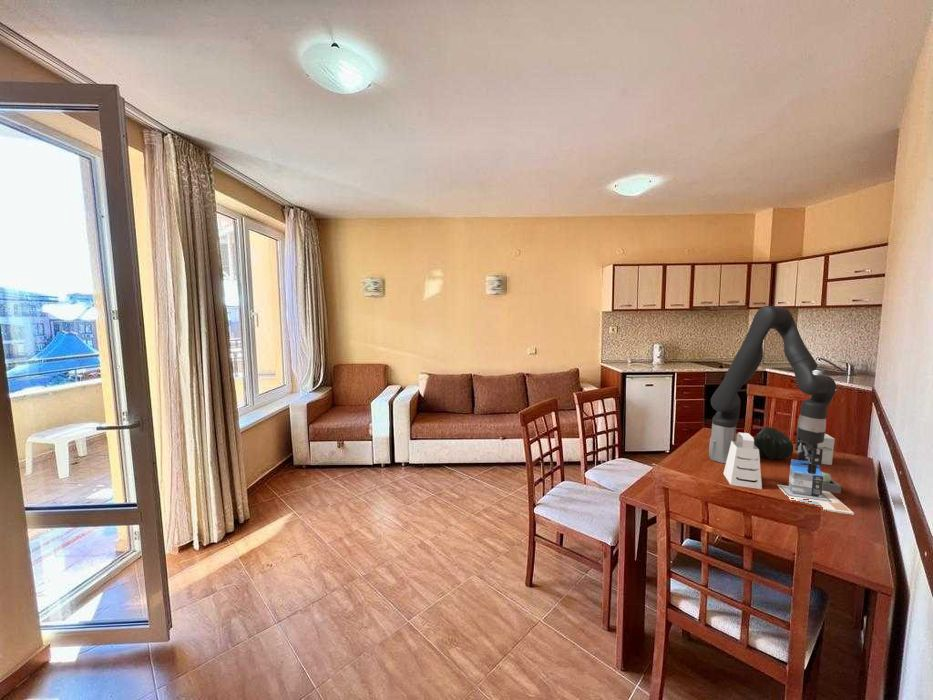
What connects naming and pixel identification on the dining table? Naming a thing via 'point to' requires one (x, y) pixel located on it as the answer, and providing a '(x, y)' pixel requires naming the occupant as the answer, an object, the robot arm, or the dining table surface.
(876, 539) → the dining table surface
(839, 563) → the dining table surface
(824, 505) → the picture board
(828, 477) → the button
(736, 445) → the grater
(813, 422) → the robot arm
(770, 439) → the squash
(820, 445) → the supplement box
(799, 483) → the label tape box
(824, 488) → the button housing
